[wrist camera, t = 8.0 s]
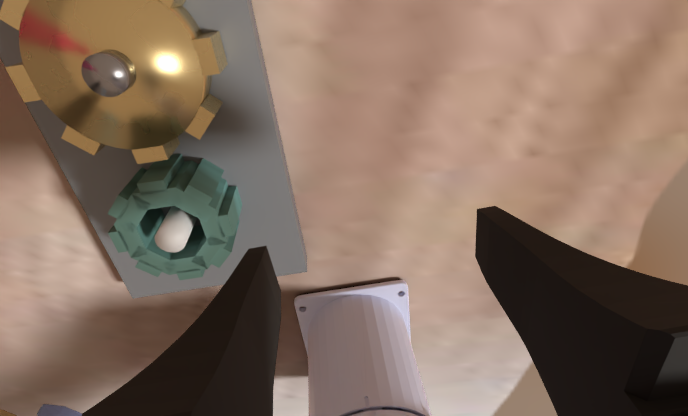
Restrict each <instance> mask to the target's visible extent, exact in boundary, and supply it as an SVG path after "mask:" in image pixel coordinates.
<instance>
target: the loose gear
mask: <svg viewBox="0 0 688 416" xmlns="http://www.w3.org/2000/svg"><path fill="white" fill-rule="evenodd" d="M223 172H224V170H223V169H221V168H219V167H218V166H216V165H214V164H213V163H211V162H209V161H207V160H206V159H204V158H203V159H202V160H201V162H200V164H197V163H196V162H194V161H192V160H191V161H184V159H183V157H182V154H174V155H171V156H170V158H169V159H168V160H162V161H155V162H153V164H152V165H151V166H150V167H149V169H148V170H146V169H144V168H142V167H141V168H140V170H139V171H138V172H137V173H136V174H135V176H134V177H133V178H132V179H131V180H130V182H129V183H128V184H127V185H126V186H125V188H124V189H123V190H122V191H121V192H120V194H119V195H118V196H117V198H116V200H115V201H114V203H113V205H112V207H111V209H110V210H109V212H108V214H109V215H111V216H113V217H115V218H117V220H116V222H115V223H114V225H113V227H112V228H111V229H110V231H109V232H108V234H109V236H110V238H111V240H112V242H113V244H114V245H115V247H116V249H117V251H118V253H121V252H127V251H128V253H129V255H130V257H131V258H132V259H135V260H137V261H138V263H137V264H136V266H135V267H136V268H138V269H140V270H142V271H145V272H147V273H149V274H151V275H154V276H156V277H158V276H159V275H160V274H161V272H163V273H166V274H168V275H173V274H177V275H178V278H179V280H186V279H193V278H199V277H203V275H204V272H205V270H206V269H208V268H209V267H210V265H211V264H212V265H214V266H216V267H218V268H220V267H221V265H222V264H223V263H224V261H225V260H226V259H227V258H228V256H229V255H230V254H231V252H232V248H233V244H234V240H235V237H236V233H237V229H238V225H239V221H240V220H238V219H239V216H240V212H241V208H242V202H241V198H240V195H239V192H238V188H237V186H231V187H228V184H227V180H225V179H223V178H221V177H222V174H223ZM169 206H176V207H178V208H180V209H182V210H183V211H185V212H187V213H189V214H191V215H193V216H195V217H197V218H199V220H200V222H201V225H197V226H194V227H193V229H192V231H191V234H190V236H189V238H188V241H187V243H186V245H185V247H184V248H183V249H182V250H181V251H179V252H167V251H164V250H162V249H160V248H159V247H158V246H157V244H156V242H155V235H156V233H157V231H158V229H159V228H160V226H161V224H162V222H163V220H164V219H165V216H164V214H163V212H162V209H161V208H162V207H169Z"/></svg>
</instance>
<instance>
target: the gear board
mask: <svg viewBox="0 0 688 416" xmlns="http://www.w3.org/2000/svg"><path fill="white" fill-rule="evenodd" d="M3 1H4V0H0V10H1V7H2V4H3ZM183 6H184V7H185V8H186V9H187V11H188V12H189V13H190V14H191V16H192V17H193V18H194V20H195V21H196V23H197V24H198V26H199V28H200V29H201V31H202V33H209V32H216V31H219V32H220V36H221V40H222V44H223V47H224V51H225V55H226V59H227V63H228V65H227V66H226V67H225V68H224V69H223V71H222V72H221V73H220V74H215V75H212V84H211V89H210V92H209V94H211V95H213V96H214V97H216V98H217V99H219V100H220V101H222V102H223V103H222V105H221V107H220V108H219V110H218V112H217V113H216V115H215V116H214V118H213V119H212V121H211V123H210V124H209V126H208V127H207V129H206V131H205V132H204V134H203V135H202V137H201V139H200V140H199V139H197V138H196V137H194V136H192V135H191V134H189V133H187V132H186V131H184V132H183V133H182V134H180V135H179V136H178V140H179V142H180V144H179V145H178V147H177V148H176V149H175V151H174V152H173V153H172V155H174V154H182V157H183V159H184V161H191V160H192V161H194V162H196V163H197V164H200V162H201V160H202V159H203V158H204V159H206V160H207V161H209V162H211V163H213V164H214V165H216V166H218V167H219V168H221V169H223V170H224V172H223V174H222V177H221V178H223V179H225V180H227V184H228V187H231V186H237V188H238V192H239V195H240V198H241V202H242V208H241V212H240V216H239V219H238V220H240V221H239V225H238V229H237V233H236V237H235V240H234V244H233V248H232V252H231V254H230V255H229V256H228V258H227V259H226V260H225V261H224V263H223V264H222V265H221V267H220V268H218V267H216V266H214V265H212V264H211V265H210V267H209V268H208V269H206V270H205V272H204V275H203V277H199V278H193V279H186V280H179V278H178V275H177V274H173V275H168V274H166V273H163V272H161V274H160V275H159V276H158V277H156V276H154V275H151V274H149V273H147V272H145V271H142V270H140V269H138V268H136V267H135V266H136V264H137V263H138V261H137V260H135V259H132V258H131V257H130V255H129V253H128V251H127V252H121V253H118V251H117V249H116V247H115V245H114V244H113V242H112V240H111V238H110V236H109V234H108V232H109V231H110V229H111V228H112V227H113V225H114V223H115V222H116V220H117V218H115V217H113V216H111V215H109V214H108V212H109V210H110V209H111V207H112V205H113V203H114V201H115V200H116V198H117V196H118V195H119V194H120V192H121V191H122V190H123V189H124V188H125V186H126V185H127V184H128V183H129V182H130V180H131V179H132V178H133V177H134V176H135V174H136V173H137V172H138V171H139V170H140V168H141V167H142V168H144V169H146V170H148V169H149V167H150V166H151V165H152V164H153V162H149V163H142V164H137V162H136V160H135V157H134V155H133V153H132V149H122V148H115V147H112V146H108V145H106V146H105V147H104V148H102V149H101V150H100V151H99V152H98V153H97V154H96V155H92V154H90V153H88V152H86V151H84V150H83V149H81V148H79V147H77V146H75V145H73V144H71V143H69V142H67V141H66V140H64V139H62V138H61V137H62V135H63V133H64V131H65V129H66V126H67V124H65V123H64V122H63V121H61V120H60V119H59V118H58V117H57V116H56V115H55V114H54V113H53V112H52V111H51V110H50V109H49V108H48V107H47V106H46V105H45V103H44V102H43V101H42V100H38V101H31V102H25V103H26V105H27V107H28V109H29V111H30V113H31V114H32V116H33V118H34V120H35V122H36V123H37V125H38V127H39V129H40V131H41V133H42V134H43V136H44V138H45V140H46V142H47V143H48V145H49V147H50V149H51V151H52V153H53V154H54V156H55V158H56V160H57V162H58V163H59V165H60V167H61V169H62V171H63V173H64V174H65V176H66V178H67V180H68V182H69V183H70V185H71V187H72V189H73V191H74V193H75V194H76V196H77V198H78V200H79V202H80V204H81V205H82V207H83V209H84V211H85V213H86V214H87V216H88V218H89V220H90V222H91V224H92V225H93V227H94V229H95V231H96V233H97V234H98V236H99V238H100V240H101V242H102V244H103V245H104V247H105V249H106V251H107V253H108V254H109V256H110V258H111V260H112V262H113V264H114V265H115V267H116V269H117V271H118V273H119V274H120V276H121V278H122V280H123V282H124V284H125V285H126V287H127V289H128V291H129V293H130V294H131V296H132V298H140V297H146V296H153V295H159V294H166V293H172V292H179V291H185V290H192V289H198V288H205V287H211V286H218V285H224V284H225V283H226V281H227V280H228V278H229V277H230V276H231V274H232V273H233V271H234V270H235V268H236V267H237V265H238V264H239V262H240V261H241V259H242V258H243V256H244V255H245V253H246V252H247V250H248V249H250V248H256V247H261V246H267V249H268V252H269V255H270V258H271V262H272V265H273V268H274V271H275V274H276V276H283V275H289V274H296V273H302V272H307V255H306V250H305V246H304V241H303V237H302V232H301V227H300V223H299V218H298V214H297V209H296V204H295V200H294V195H293V191H292V186H291V182H290V177H289V172H288V168H287V163H286V159H285V154H284V150H283V145H282V140H281V136H280V131H279V127H278V122H277V117H276V113H275V108H274V104H273V99H272V95H271V90H270V85H269V81H268V76H267V72H266V67H265V62H264V58H263V53H262V49H261V44H260V40H259V35H258V30H257V26H256V21H255V17H254V12H253V8H252V3H251V0H186V1H185V3H184V5H183ZM0 58H1V60H2V62H3V63H4V65H5V67H7V66H10V65H14V64H17V63H20V62H22V58H21V53H20V47H19V31H18V30H17V29H15V28H13V27H12V26H10V25H8V24H7V23H5V22H4V21H2V20H0ZM161 209H162V212H163V214H164V216H165V219H164V220H163V222H162V224H161V226H160V228H159V229H158V231H157V233H156V235H155V242H156V244H157V246H158V247H159V248H160V249H162V250H164V251H167V252H179V251H181V250H182V249H183V248H184V247H185V245H186V243H187V241H188V238H189V236H190V234H191V231H192V229H193V227H194V226H197V225H201V222H200V220H199V218H197V217H195V216H193V215H191V214H189V213H187V212H185V211H183V210H182V209H180V208H178V207H176V206H169V207H162V208H161Z"/></svg>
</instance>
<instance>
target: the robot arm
mask: <svg viewBox="0 0 688 416" xmlns="http://www.w3.org/2000/svg"><path fill="white" fill-rule="evenodd" d="M475 257H476V259H477V261H478V264H479V266H480V269H481V271H482V273H483V275H484V277H485V280H486V282H487V283H488V285H489V287H490V288H491V290H492V292H493V293H494V295H495V297H496V298H497V300H498V301H499V303H500V305H501V306H502V308H503V309H504V311H505V313H506V314H507V316H508V317H509V319H510V321H511V322H512V324H513V325H514V327H515V329H516V330H517V332H518V333H519V335H520V337H521V339H522V340H523V342H524V344H525V346H526V348H527V350H528V352H529V354H530V356H531V358H532V360H533V362H534V364H535V366H536V368H537V370H538V372H539V375H540V377H541V379H542V381H543V383H544V386H545V388H546V390H547V392H548V394H549V396H550V399H551V401H552V403H553V405H554V408H555V410H556V412H557V415H558V416H688V286H687V285H683V284H679V283H675V282H670V281H667V280H663V279H660V278H656V277H652V276H649V275H645V274H642V273H639V272H636V271H633V270H630V269H627V268H624V267H621V266H618V265H615V264H612V263H610V262H607V261H604V260H602V259H599V258H597V257H594V256H592V255H589V254H587V253H585V252H582V251H580V250H578V249H576V248H573V247H571V246H569V245H567V244H565V243H563V242H561V241H559V240H557V239H555V238H553V237H551V236H549V235H547V234H545V233H543V232H541V231H539V230H538V229H536V228H534V227H532V226H530V225H529V224H527V223H525V222H523V221H521V220H520V219H518V218H516V217H514V216H513V215H511V214H509V213H507V212H506V211H504V210H502V209H500V208H498V207H496V206H492V207H486V208H481V209H477V226H476V253H475ZM400 291H403V292H401V293H399V292H400ZM294 306H295V309H296V313H297V317H298V321H299V325H300V329H301V332H302V336H303V340H304V344H305V348H306V352H307V355H308V386H309V416H432V414H431V411H430V407H429V404H428V401H427V397H426V394H425V390H424V387H423V383H422V380H421V376H420V373H419V370H418V366H417V363H416V359H415V356H414V352H413V349H412V345H411V337H410V317H409V298H408V286H407V283H406V281H404V280H396V281H389V282H383V283H376V284H370V285H363V286H357V287H350V288H344V289H337V290H331V291H324V292H318V293H311V294H305V295H299V296H297V297H296V298H295V299H294ZM302 306H304V308H301V307H302ZM280 321H281V290H280V287H279V284H278V281H277V277H276V274H275V271H274V268H273V265H272V262H271V258H270V255H269V252H268V249H267V246H261V247H256V248H250V249H248V250H247V252H246V253H245V255H244V256H243V258H242V259H241V261H240V262H239V264H238V265H237V267H236V268H235V270H234V271H233V273H232V274H231V276H230V277H229V278H228V280H227V281H226V283H225V284H224V286H223V287H222V288H221V290H220V291H219V293H218V294H217V295H216V297H215V298H214V299H213V300H212V302H211V303H210V304H209V305H208V307H207V308H206V309H205V311H204V312H203V313H202V314H201V315H200V316H199V318H198V319H197V320H196V321H195V322H194V323H193V324H192V325H191V326H190V327H189V328H188V329H187V331H186V332H185V333H184V334H183V335H182V336H181V337H180V338H179V339H178V340H177V341H175V342H174V343H173V344H172V345H171V346H170V347H169V348H168V349H167V350H166V351H165V352H164V353H162V354H161V355H160V356H159V357H158V358H157V359H156V360H155V361H154V362H152V363H151V364H150V365H149V366H148V367H146V368H145V369H144V370H143V371H141V372H140V373H139V374H138V375H136V376H135V377H134V378H133V379H131V380H130V381H129V382H127V383H126V384H125V385H123V386H122V387H121V388H119V389H118V390H116V391H115V392H114V393H112V394H111V395H109V396H108V397H106V398H105V399H103V400H102V401H101V402H99V403H98V404H96V405H95V406H93V407H92V408H90V409H89V410H87V411H86V412H84V413H83V414H82V416H273V384H274V373H275V364H276V356H277V348H278V339H279V330H280Z"/></svg>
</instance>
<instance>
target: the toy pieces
mask: <svg viewBox="0 0 688 416" xmlns="http://www.w3.org/2000/svg"><path fill="white" fill-rule="evenodd" d="M37 415H38V416H82V414H81V413H79V412H77V411H74V410H72V409H69V408H67V407H65V406H57V405H49V404H43V405H42V407H41V408H40V410H39V412H38V413H37ZM0 416H16V415H14V414H12V413H10V412H7V411H5V410H1V409H0Z"/></svg>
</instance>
